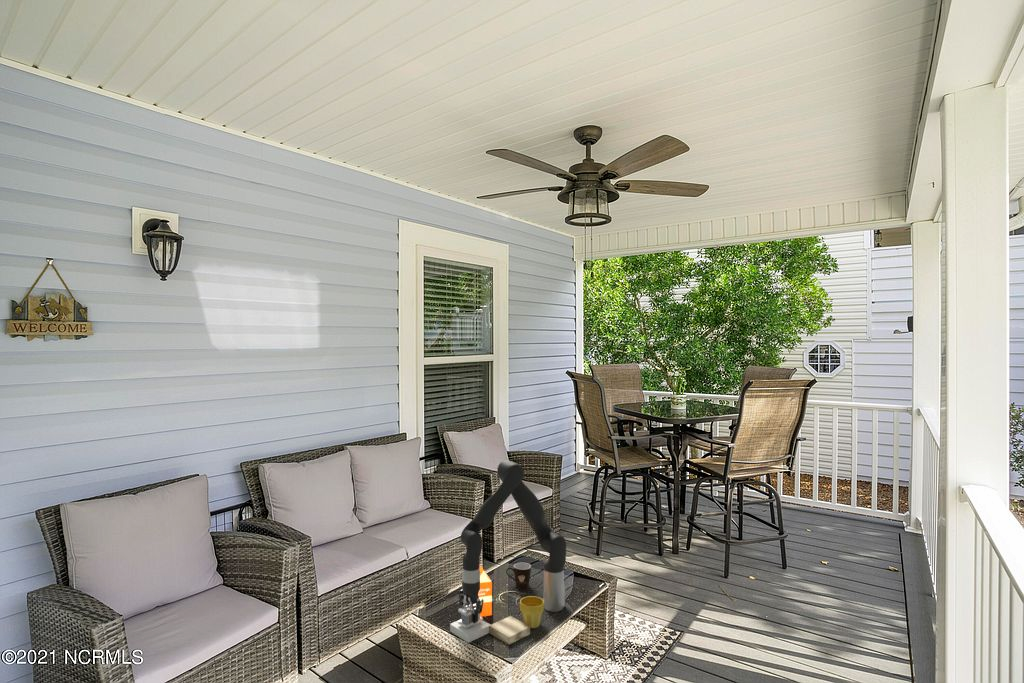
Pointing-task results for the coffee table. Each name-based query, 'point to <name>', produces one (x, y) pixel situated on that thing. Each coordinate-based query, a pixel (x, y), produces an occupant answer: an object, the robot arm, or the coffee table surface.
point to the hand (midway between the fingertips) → (470, 619)
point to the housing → (468, 616)
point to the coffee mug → (521, 575)
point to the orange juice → (485, 593)
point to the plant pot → (532, 610)
